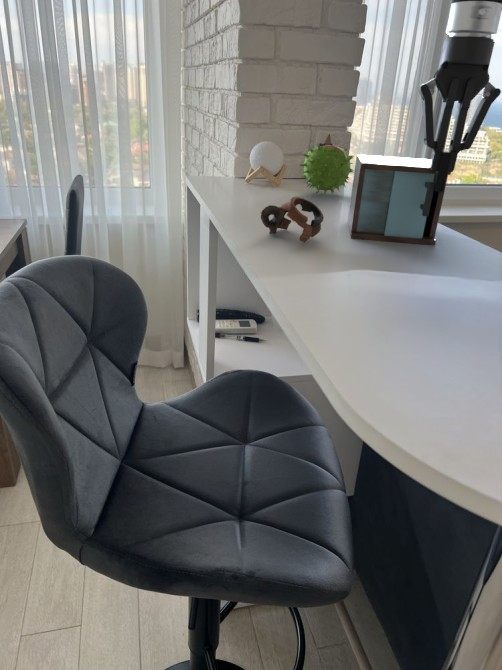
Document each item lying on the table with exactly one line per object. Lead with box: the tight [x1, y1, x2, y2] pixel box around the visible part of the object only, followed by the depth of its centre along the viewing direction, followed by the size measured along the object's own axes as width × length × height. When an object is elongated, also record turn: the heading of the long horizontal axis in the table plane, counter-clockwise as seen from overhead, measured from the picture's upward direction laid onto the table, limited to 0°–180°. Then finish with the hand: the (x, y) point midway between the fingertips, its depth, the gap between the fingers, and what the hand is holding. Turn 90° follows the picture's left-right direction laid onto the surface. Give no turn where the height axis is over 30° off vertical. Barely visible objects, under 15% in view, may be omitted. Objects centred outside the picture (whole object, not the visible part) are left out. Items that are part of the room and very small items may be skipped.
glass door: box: [384, 171, 435, 239], centre depth 93 cm, size 7×4×12 cm, turn 83°
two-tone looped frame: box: [260, 196, 324, 243], centre depth 95 cm, size 12×10×8 cm
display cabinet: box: [347, 154, 452, 246], centre depth 100 cm, size 16×14×14 cm
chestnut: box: [299, 143, 355, 195], centre depth 135 cm, size 15×14×15 cm
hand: (437, 190), depth 90 cm, fingers closed
